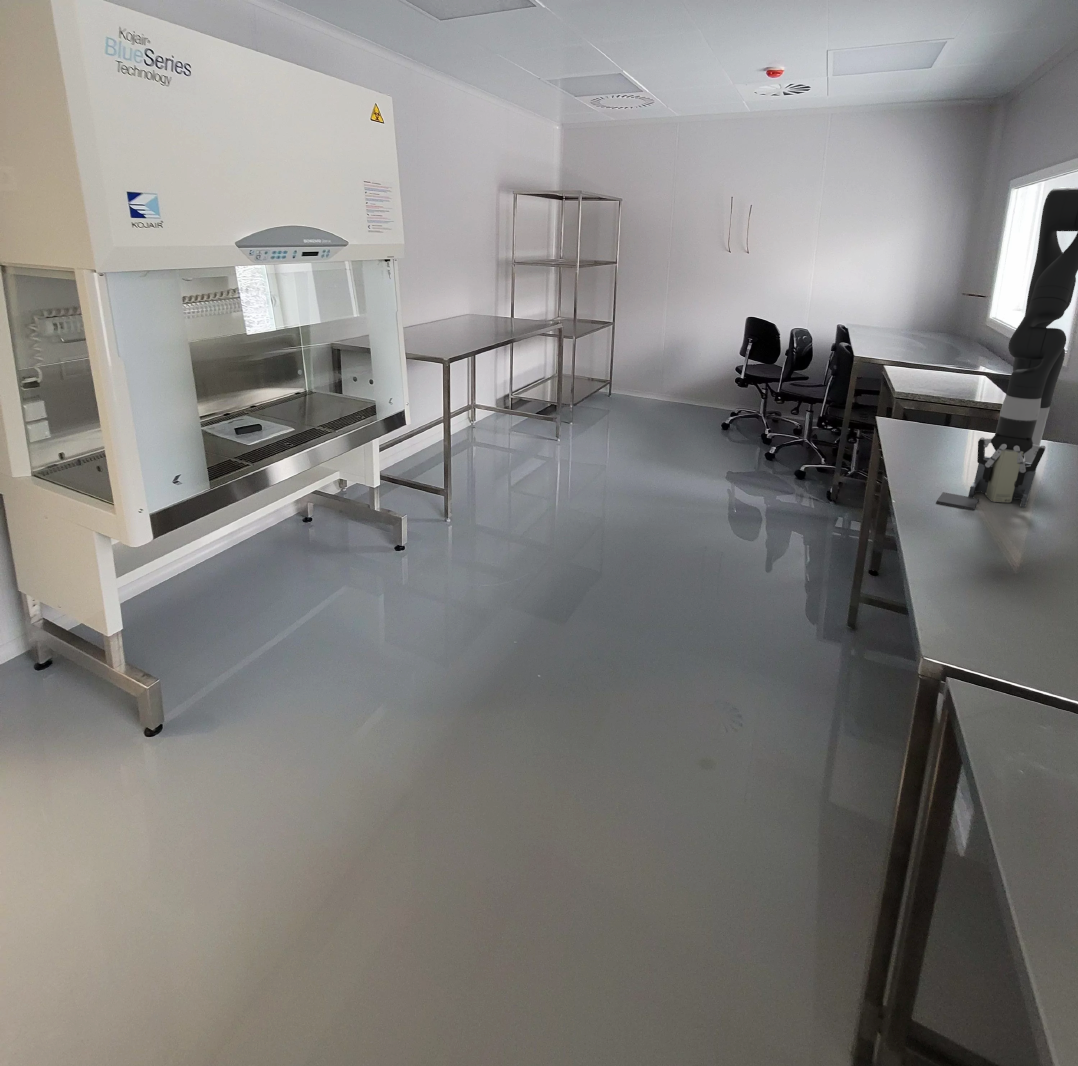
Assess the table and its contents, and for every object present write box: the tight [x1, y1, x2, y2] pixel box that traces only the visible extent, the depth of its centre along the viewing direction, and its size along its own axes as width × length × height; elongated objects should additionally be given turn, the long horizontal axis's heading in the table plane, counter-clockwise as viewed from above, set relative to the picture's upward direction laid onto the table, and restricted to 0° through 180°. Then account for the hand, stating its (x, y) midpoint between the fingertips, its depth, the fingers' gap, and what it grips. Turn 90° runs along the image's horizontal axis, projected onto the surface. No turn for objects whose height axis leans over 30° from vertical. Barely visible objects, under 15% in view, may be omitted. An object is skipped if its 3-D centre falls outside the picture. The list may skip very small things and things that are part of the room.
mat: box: [935, 491, 980, 511], centre depth 178 cm, size 8×8×1 cm
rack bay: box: [967, 455, 1037, 509], centre depth 178 cm, size 8×12×9 cm, turn 53°
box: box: [985, 449, 1023, 504], centre depth 177 cm, size 5×4×13 cm
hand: (1001, 483), depth 178 cm, fingers closed on box, 5 cm apart
